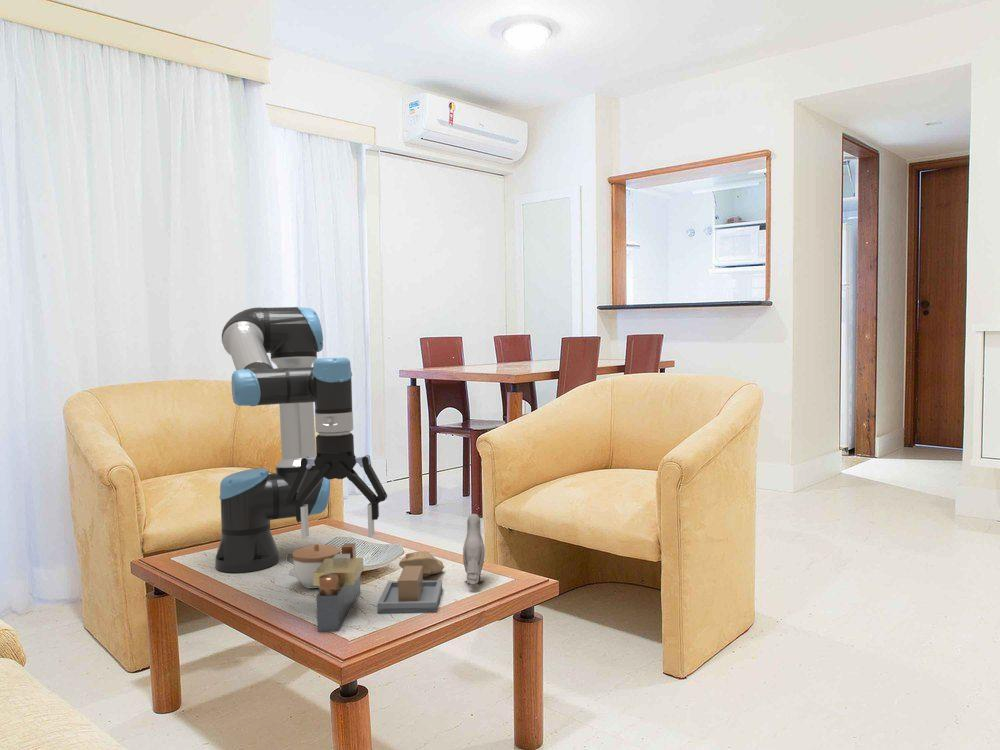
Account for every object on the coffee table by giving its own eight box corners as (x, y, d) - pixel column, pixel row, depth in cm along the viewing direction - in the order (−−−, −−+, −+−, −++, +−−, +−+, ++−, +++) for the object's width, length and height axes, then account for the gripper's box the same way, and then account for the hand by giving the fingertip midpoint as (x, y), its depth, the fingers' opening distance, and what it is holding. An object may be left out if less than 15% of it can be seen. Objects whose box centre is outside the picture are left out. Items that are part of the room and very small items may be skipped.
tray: (388, 590, 166) (387, 563, 166) (442, 589, 166) (441, 562, 166) (377, 613, 152) (376, 584, 152) (436, 612, 152) (435, 583, 152)
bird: (486, 573, 176) (484, 510, 176) (483, 592, 163) (482, 524, 162) (465, 573, 177) (464, 510, 176) (461, 592, 163) (459, 525, 162)
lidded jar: (351, 580, 173) (350, 540, 173) (319, 595, 164) (318, 552, 163) (315, 574, 178) (314, 535, 178) (283, 588, 169) (281, 547, 168)
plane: (342, 592, 165) (340, 543, 164) (360, 592, 165) (358, 543, 164) (317, 631, 143) (315, 575, 143) (338, 631, 143) (336, 574, 142)
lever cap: (325, 570, 159) (325, 552, 159) (363, 569, 159) (362, 552, 158) (313, 585, 149) (313, 567, 149) (353, 584, 149) (353, 566, 148)
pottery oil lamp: (456, 574, 176) (455, 545, 176) (419, 588, 167) (418, 557, 166) (430, 567, 182) (429, 539, 181) (393, 580, 172) (392, 550, 172)
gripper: (267, 437, 149) (272, 542, 149) (392, 433, 148) (396, 539, 149) (279, 432, 156) (283, 533, 157) (398, 429, 156) (401, 530, 157)
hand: (338, 536), depth 153 cm, fingers open, 13 cm apart
